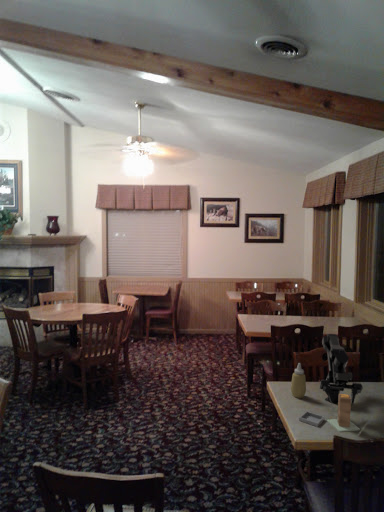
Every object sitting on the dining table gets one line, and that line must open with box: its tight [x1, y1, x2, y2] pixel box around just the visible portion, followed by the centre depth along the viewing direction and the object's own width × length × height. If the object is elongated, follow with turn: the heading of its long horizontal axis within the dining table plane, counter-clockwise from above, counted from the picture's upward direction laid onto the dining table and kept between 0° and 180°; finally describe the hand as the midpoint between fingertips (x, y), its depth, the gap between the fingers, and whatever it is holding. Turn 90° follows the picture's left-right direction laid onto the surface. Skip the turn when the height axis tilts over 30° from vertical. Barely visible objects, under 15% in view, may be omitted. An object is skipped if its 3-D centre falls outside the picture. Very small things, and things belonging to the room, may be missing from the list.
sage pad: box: [326, 418, 361, 433], centre depth 175 cm, size 10×10×1 cm
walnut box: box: [336, 393, 352, 427], centre depth 174 cm, size 4×4×13 cm
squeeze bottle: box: [290, 362, 307, 399], centre depth 206 cm, size 8×8×18 cm
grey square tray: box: [298, 410, 325, 428], centre depth 179 cm, size 9×9×2 cm
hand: (342, 404), depth 179 cm, fingers open, 9 cm apart
